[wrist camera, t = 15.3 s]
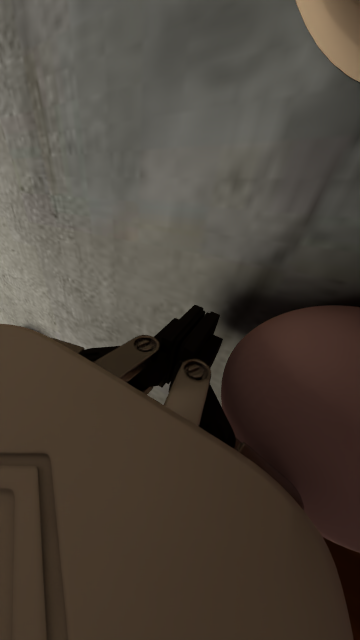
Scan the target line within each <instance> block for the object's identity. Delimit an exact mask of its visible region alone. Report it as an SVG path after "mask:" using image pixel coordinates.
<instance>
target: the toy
mask: <svg viewBox="0 0 360 640" xmlns="http://www.w3.org/2000/svg"><path fill="white" fill-rule="evenodd" d="M221 400H222V409H223V411H224V413H225V415H226V417H227V419H228V421H229V423H230V425H231V427H232V429H233V431H234V434H235V437H236V438H237V439H238V440H239V441H241V442H242V443H243V442H246V443H247V444H248V445H249V446H250V447H251V448H252V449H254V450H255V451H256V452H257V453H258V454H259V455H261V456H262V457H263V458H264V459H265V460H266V461H268V462H269V463H270V464H271V465H272V466H273V467H274V468H276V469H277V470H278V471H279V472H280V473H281V474H283V475H284V476H285V477H286V478H287V479H288V480H289V481H290V482H291V483H292V484H293V485H294V486H295V487H296V489H297V490H298V492H299V494H300V496H301V498H302V501H303V504H304V512H305V513H306V514H307V515H308V517H309V518H310V519H311V521H312V522H313V524H314V525H315V526H316V528H317V529H318V531H319V532H320V534H321V536H322V537H324V538H326V539H328V540H330V541H332V542H334V543H336V544H338V545H341V546H343V547H345V548H348V549H350V550H353V551H356V552H359V553H360V307H353V306H341V305H325V306H315V307H307V308H302V309H298V310H293V311H290V312H287V313H284V314H281V315H278V316H276V317H273V318H271V319H269V320H267V321H265V322H264V323H262V324H260V325H259V326H257V327H256V328H254V329H253V330H252V331H250V332H249V333H248V334H247V335H246V336H245V337H244V338H243V339H242V340H241V341H240V342H239V343H238V344H237V345H236V347H235V348H234V350H233V351H232V353H231V355H230V357H229V358H228V361H227V363H226V366H225V369H224V373H223V378H222V387H221Z"/></svg>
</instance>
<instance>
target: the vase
mask: <svg viewBox="0 0 360 640" xmlns="http://www.w3.org/2000/svg"><path fill="white" fill-rule="evenodd" d="M296 3H297V6H298V9H299V11H300V13H301V16H302V18H303V20H304V23H305V25H306V27H307V29H308V31H309V32H310V34H311V36H312V37H313V39H314V41H315V42H316V44H317V46H318V47H319V48H320V49H321V51H322V52H323V53H324V54H325V55H326V56H327V58H328V59H329V60H330V61H331V62H332V63H333V64H334V65H335V66H336V67H338V68H339V69H340V70H341V71H343V72H344V73H345V74H346V75H348V76H349V77H351V78H353V79H354V80H356V81H358V82H360V0H296Z"/></svg>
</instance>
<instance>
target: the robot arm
mask: <svg viewBox="0 0 360 640" xmlns="http://www.w3.org/2000/svg"><path fill="white" fill-rule="evenodd" d="M204 315H205V316H204ZM219 317H220V315H219V314H217V313H214V312H212V311H211V313H208V312H207V313H206V314H205V311H203V308H202V307H199V306H197V305H194V306H193V307H192V308H191V309H190V310H189V311H188V312H187V313H186V314H184V315H183V316H182V317H181V318H180V319H176V318H174V319H173V320H172V321H171V322H170V323H169V324H168V325H167V326H165V327H164V328H163V329H162V330H161V331H160V332H159V333H158V334H157V335H156V336H154V337H152V336H149V335H141V336H137V337H135V338H133V339H132V340H130V341H128V342H127V343H125V344H123V345H122V346H114V347H101V348H90V349H86V350H84V347H80V346H77V345H74V344H71V343H67V342H64V341H61V340H58V339H55V338H50V337H48V336H46V335H44V334H41V333H39V332H37V331H34V330H31V329H28V328H25V327H21V326H15V325H9V324H0V640H354V639H353V633H352V628H351V624H350V619H349V614H348V610H347V605H346V601H345V597H344V593H343V589H342V585H341V582H340V578H339V575H338V572H337V568H336V565H335V563H334V560H333V558H332V555H331V553H330V551H329V548H328V546H327V544H326V543H325V541H324V539H323V537H322V536H321V534H320V532H319V531H318V529H317V528H316V526H315V525H314V524H313V522H312V521H311V519H310V518H309V517H308V515H307V514H306V513H305V512H304V504H303V501H302V498H301V496H300V494H299V492H298V490H297V489H296V487H295V486H294V485H293V484H292V483H291V482H290V481H289V480H288V479H287V478H286V477H285V476H284V475H283V474H281V473H280V472H279V471H278V470H277V469H276V468H274V467H273V466H272V465H271V464H270V463H269V462H268V461H266V460H265V459H264V458H263V457H262V456H261V455H259V454H258V453H257V452H256V451H255V450H254V449H252V448H251V447H250V446H249V445H248V444H247V443H246V442H243V443H242V442H241V441H239V440H238V439H237V438H236V437H235V434H234V431H233V429H232V427H231V425H230V423H229V421H228V419H227V417H226V415H225V413H224V411H223V409H222V407H221V405H220V403H219V401H218V399H217V397H216V395H215V393H214V391H213V389H212V387H211V385H210V379H211V370H210V367H211V366H212V364H213V362H214V359H215V357H216V355H217V353H218V351H219V348H220V346H221V343H222V340H223V339H222V338H220V337H217V336H215V335H213V334H214V331H215V328H216V325H217V323H218V320H219ZM170 382H171V383H170ZM165 383H167V384H169V383H170V388H169V394H168V396H167V398H166V401H165V403H164V405H162V404H161V403H159V402H158V401H156V400H154V399H153V398H151V397H149V396H148V395H147V394H148V393H149V392H150V391H151V390H152V388H153V386H158V385H159V386H160V387H163V386H164V385H165Z"/></svg>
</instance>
